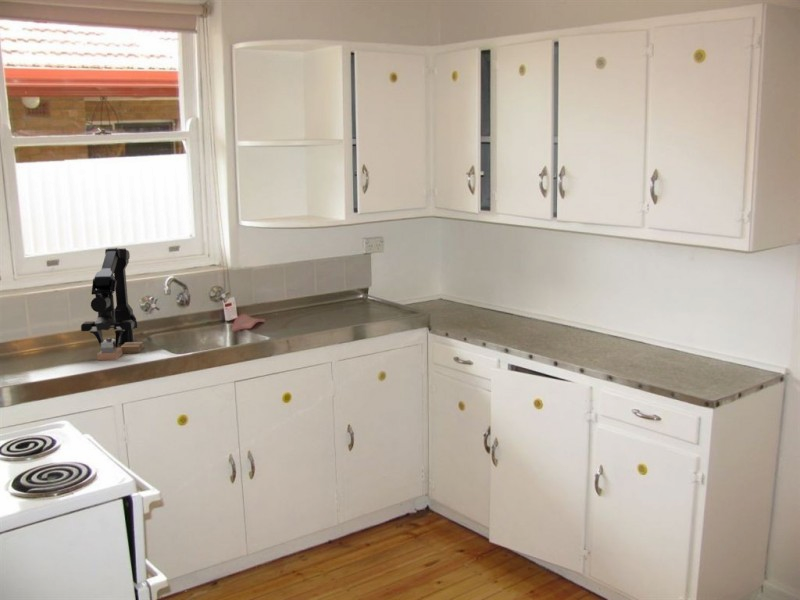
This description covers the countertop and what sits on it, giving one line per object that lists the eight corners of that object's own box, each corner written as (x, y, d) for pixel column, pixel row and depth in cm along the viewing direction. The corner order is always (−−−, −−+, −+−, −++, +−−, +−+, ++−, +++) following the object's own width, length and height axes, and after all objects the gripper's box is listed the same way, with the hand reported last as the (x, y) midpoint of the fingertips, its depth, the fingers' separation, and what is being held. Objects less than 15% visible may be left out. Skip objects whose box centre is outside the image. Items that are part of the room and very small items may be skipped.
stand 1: (104, 354, 329) (103, 348, 328) (122, 354, 329) (121, 347, 329) (97, 360, 320) (97, 353, 320) (116, 359, 321) (116, 352, 320)
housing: (106, 348, 328) (105, 336, 327) (118, 348, 328) (117, 336, 327) (101, 353, 321) (100, 340, 320) (113, 352, 321) (112, 340, 320)
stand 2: (126, 348, 340) (125, 342, 339) (143, 347, 340) (143, 341, 340) (120, 353, 331) (120, 347, 330) (138, 352, 331) (138, 346, 331)
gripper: (75, 312, 313) (78, 353, 315) (126, 310, 314) (129, 351, 317) (83, 307, 324) (86, 346, 326) (133, 305, 325) (136, 344, 328)
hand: (109, 347), depth 324 cm, fingers open, 5 cm apart
